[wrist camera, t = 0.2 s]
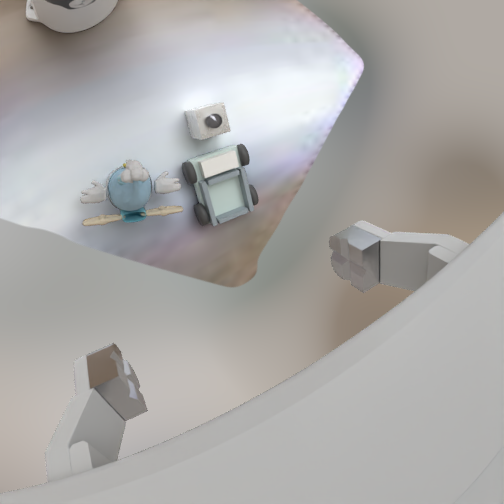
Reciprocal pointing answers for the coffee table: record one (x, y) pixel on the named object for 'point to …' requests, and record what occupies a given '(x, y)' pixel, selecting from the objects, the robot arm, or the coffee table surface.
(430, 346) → the robot arm
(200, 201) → the chassis
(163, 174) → the toy figure
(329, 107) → the coffee table surface
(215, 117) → the cube with round knob
